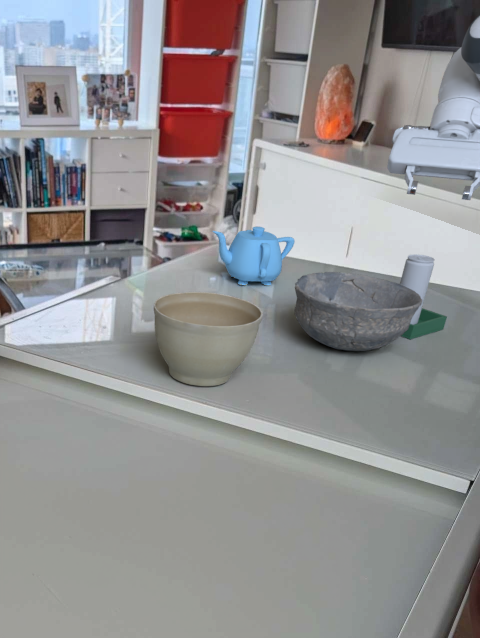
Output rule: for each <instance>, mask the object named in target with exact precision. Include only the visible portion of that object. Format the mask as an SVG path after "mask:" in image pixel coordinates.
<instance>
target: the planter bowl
mask: <svg viewBox="0 0 480 638" xmlns="http://www.w3.org/2000/svg"><path fill="white" fill-rule="evenodd" d="M153 313H154V333H155V335H154V336H155V339H156V344H157V346H158V348H159V352H160V354H161V356H162V358H163V359H164V361H165V363H166V364H167V366H168V373H169V375H170V377H172V378H173V379H174V380H176V381H178V382H181V383H183V384H186V385H191V386H198V387H215V386H216V387H217V386H219V385H224V384H225V383H227V382H228V381H229V380H230V379H231V376H232V373H233V372H234V371H235V370H236V369H237V368H239V366H241V364H242V363H243V362H244V361H245V359H246V358H247V356H248V355H249V353H250V352H251V350H252V348H253V346H254V343H255V341H256V339H257V335H258V332H259V327H260V324H261V322H262V320H263V314H264V313H263V310H262V309H261V307H259V306H258V305H256V304H255V303H254V302H251V301H249V300H247V299H243V298H241V297H237V296H233V295H229V294H223V293H217V292H208V291H186V292H185V291H182V292H175V293H174V292H173V293H169V294H165V295H162V296H160V297H158V298H157V299H156V300H155V301H154V302H153Z"/></svg>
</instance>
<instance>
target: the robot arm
mask: <svg viewBox="0 0 480 638" xmlns="http://www.w3.org/2000/svg"><path fill="white" fill-rule="evenodd" d="M437 100H438V101H437V104H436V106H435V107H434V109H433V112H432V117H431V121H430V125H428V126H427V125H411V124H404V126H401V127H398V128H397V129H395V130H394V132H393V134H392V138H391V143H392V147H391V150H390V153H389V155H388V161H387V164H386V165H387V166H386V168H387V170H388V172H389V173H390V174H393V175H404V181H405V183H406V185H407V191H406V194H407V195H412V196H413V195H414V196H415V195H416V193H417V189H418V185H419V180H414V176H415V177H416V176H417V177H427V178H428V177H429V178H439V179H449V180H450V179H451V180H460V181H461V180H462V181H472V183H471V184H470V185H464V189H463V192H462V196H461V200H463V201H471V199H472V196H473V193H474V192H475V191H476V190H477V189H478V188H480V14H479V15H477V17H475V18H474V20H472V22H471V23H470V25H469V26H468V29H467V30H466V32H465V34H464V38H463V40H462V44H461V47H459V48H458V49H457V50H456V51H455V53H454V54H453V55H452V56H451V58H450V60H449V61H448V64H447V65H446V68H445V70H444V73H443V76H442V77H441V81H440V85H439V89H438V94H437Z"/></svg>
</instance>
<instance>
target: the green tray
mask: <svg viewBox="0 0 480 638" xmlns="http://www.w3.org/2000/svg"><path fill="white" fill-rule="evenodd" d="M447 317H448V316H446V315H444V314H441V313H438V312H435V311H432V310H429V309H425V308H424V307H422V309H421V313H420V316H419V320H418V323H417V324H414V325H413V324H410V325H409V328H408V330H407V331H406V332H405V333H404V334H402V335H401V336H400V337H403V338H404V339H408V340H413V339H416V338H420V337H423V336H426V335H430V334H433V333H436V332H440V331H443V330H444V329H445V326H446V322H447V319H448V318H447Z"/></svg>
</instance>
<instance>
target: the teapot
mask: <svg viewBox="0 0 480 638" xmlns="http://www.w3.org/2000/svg"><path fill="white" fill-rule="evenodd" d="M265 230H266V228H265V227H263V226H253V227H252V229H246V230H239V231H238V232H237V233H236V235H235V237H234V238H233V240H232V242H231V244H230V246H229V248H228V247H227V240H226V236H225V234H224V233H223V232H222V231H217V230H212V231H211V232H212V233H214V234H215V235H216V236H217V239H218V253H219V257H220V259H221V261H222V262H223V263H224V265H225V268H226V270H227V273H228V274H229V275H230V276H231V277H235V278H234V279H237V280H238V282H237V283H238V284H242V285H246V284H248V285H249V282H260V283H261V285H262V284H264V285H271V284H272V285H273V283H272V282H273V281H276V279H277V278H278V277H279V276H280V274H281V273H282V268H283V260H284V259H285V258H286V257H287V255H289V253H290V252H291V251H292V249H293V247H294V245H295V243H296V241H295V238H293V236H281V237H277V236H276V235H275V234H273V233H271V232H269V231H265ZM280 243H286V244H285V247H284V249H283V250H282V251H281V246H280ZM231 277H230V278H231ZM264 285H263V286H264ZM272 285H271V286H272Z"/></svg>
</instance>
